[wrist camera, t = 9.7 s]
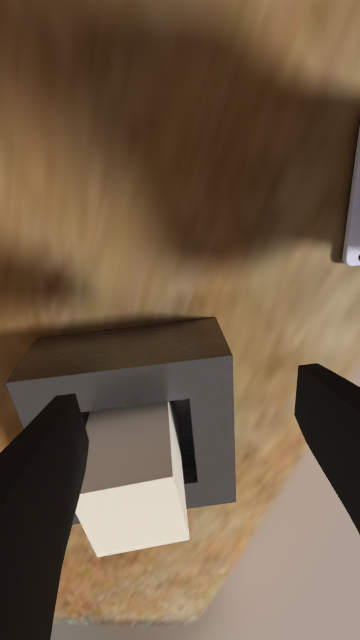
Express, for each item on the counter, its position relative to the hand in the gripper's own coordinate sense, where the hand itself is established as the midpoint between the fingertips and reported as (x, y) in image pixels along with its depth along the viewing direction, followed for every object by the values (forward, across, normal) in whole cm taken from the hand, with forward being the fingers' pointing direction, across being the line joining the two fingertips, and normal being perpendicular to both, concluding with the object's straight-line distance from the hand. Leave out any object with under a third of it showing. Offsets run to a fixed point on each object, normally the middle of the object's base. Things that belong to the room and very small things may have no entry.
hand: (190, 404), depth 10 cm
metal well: (+9, +3, +7) cm, 12 cm away
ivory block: (+9, +3, +7) cm, 12 cm away
